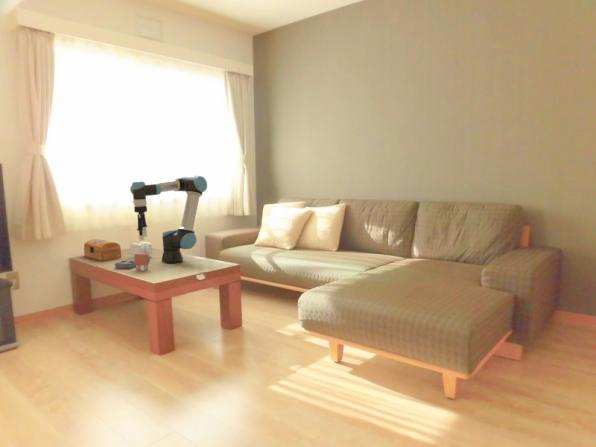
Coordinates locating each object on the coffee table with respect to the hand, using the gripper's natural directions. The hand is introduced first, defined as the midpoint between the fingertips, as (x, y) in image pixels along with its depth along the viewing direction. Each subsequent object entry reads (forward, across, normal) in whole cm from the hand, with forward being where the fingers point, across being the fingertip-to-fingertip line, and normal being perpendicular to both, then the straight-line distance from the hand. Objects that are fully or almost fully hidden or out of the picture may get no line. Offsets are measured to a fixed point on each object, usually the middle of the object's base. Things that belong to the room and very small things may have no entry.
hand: (143, 238), depth 266 cm
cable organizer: (+23, -53, -10) cm, 59 cm away
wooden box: (+23, -63, -41) cm, 79 cm away
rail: (+22, -27, -12) cm, 37 cm away
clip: (+22, -8, -4) cm, 24 cm away
